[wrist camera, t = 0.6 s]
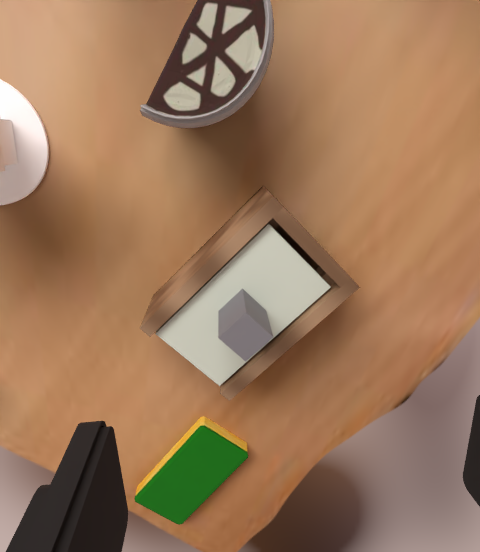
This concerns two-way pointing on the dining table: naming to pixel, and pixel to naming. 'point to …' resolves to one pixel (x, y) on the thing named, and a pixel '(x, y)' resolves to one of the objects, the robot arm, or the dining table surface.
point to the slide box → (222, 250)
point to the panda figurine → (20, 146)
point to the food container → (214, 63)
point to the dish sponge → (191, 471)
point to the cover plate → (259, 280)
